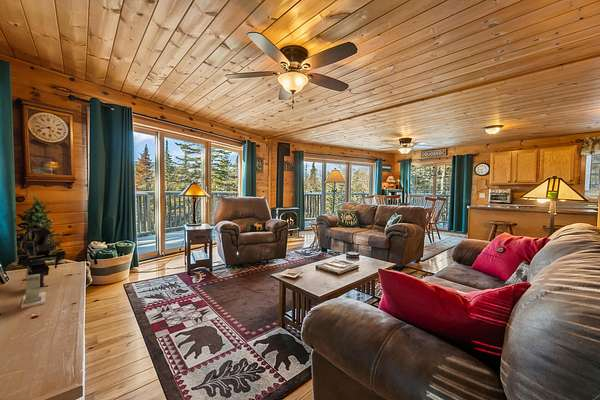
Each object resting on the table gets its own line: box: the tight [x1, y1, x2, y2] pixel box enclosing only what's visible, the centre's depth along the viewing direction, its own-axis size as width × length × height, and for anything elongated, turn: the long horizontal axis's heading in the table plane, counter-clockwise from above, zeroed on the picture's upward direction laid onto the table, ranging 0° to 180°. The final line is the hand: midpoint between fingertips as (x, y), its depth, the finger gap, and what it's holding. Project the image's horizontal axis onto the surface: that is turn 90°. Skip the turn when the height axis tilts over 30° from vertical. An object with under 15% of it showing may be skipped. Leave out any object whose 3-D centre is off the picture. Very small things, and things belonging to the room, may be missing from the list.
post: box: [25, 274, 41, 303], centre depth 125 cm, size 4×4×12 cm
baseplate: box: [20, 291, 47, 309], centre depth 128 cm, size 16×8×1 cm, turn 45°
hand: (44, 270), depth 135 cm, fingers open, 9 cm apart
